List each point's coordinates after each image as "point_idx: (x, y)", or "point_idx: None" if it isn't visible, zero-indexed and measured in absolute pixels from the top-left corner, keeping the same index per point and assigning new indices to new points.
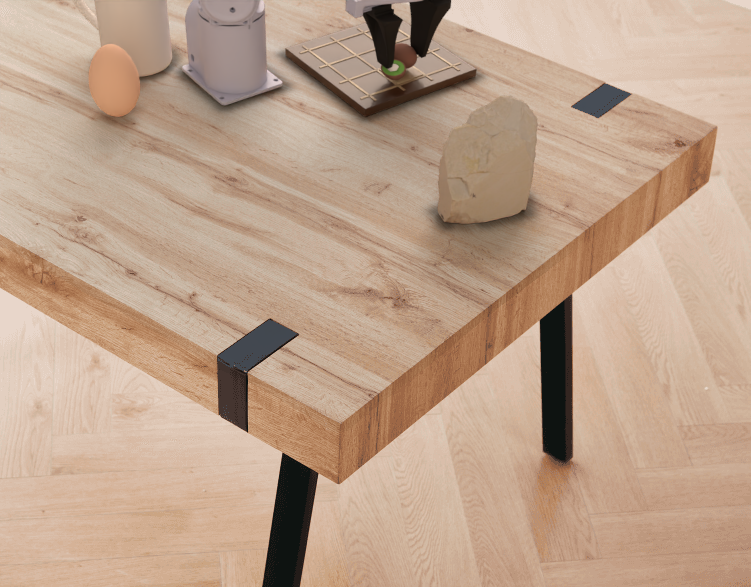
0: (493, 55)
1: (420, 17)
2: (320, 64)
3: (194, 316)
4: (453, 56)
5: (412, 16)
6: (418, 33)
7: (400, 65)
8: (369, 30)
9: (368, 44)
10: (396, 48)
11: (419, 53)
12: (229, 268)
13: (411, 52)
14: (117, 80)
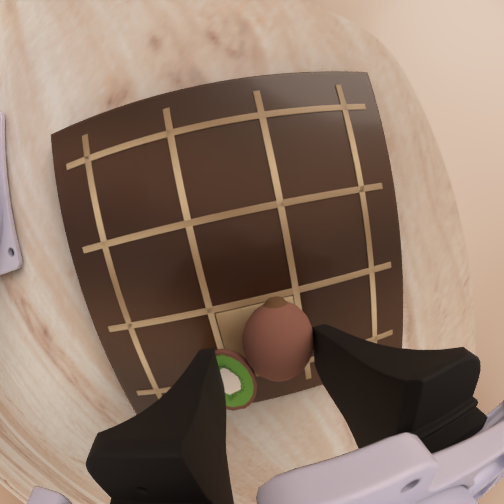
0: (451, 287)
1: (361, 411)
2: (90, 234)
3: (11, 489)
4: (397, 302)
5: (356, 368)
6: (337, 377)
7: (246, 388)
8: (281, 112)
9: (245, 177)
10: (262, 353)
11: (316, 362)
12: (18, 481)
13: (292, 376)
14: None
